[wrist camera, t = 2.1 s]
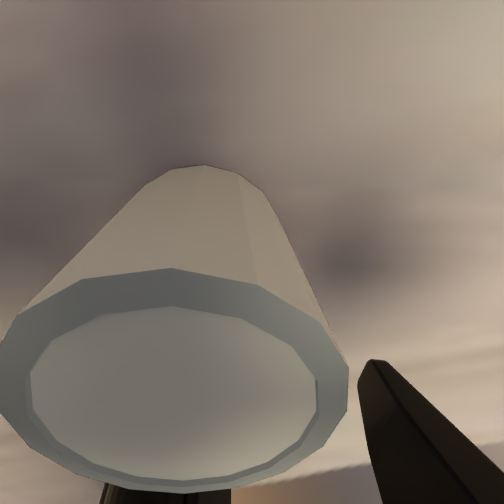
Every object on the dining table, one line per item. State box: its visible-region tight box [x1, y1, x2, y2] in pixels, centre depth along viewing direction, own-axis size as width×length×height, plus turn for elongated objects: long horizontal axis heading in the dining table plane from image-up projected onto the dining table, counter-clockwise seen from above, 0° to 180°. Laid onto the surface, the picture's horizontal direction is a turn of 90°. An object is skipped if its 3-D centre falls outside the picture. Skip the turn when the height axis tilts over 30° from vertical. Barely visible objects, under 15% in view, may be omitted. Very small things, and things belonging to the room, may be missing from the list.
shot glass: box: [0, 165, 349, 494], centre depth 10 cm, size 7×7×7 cm
